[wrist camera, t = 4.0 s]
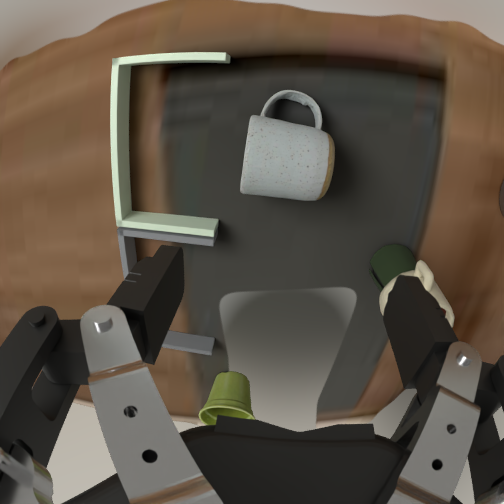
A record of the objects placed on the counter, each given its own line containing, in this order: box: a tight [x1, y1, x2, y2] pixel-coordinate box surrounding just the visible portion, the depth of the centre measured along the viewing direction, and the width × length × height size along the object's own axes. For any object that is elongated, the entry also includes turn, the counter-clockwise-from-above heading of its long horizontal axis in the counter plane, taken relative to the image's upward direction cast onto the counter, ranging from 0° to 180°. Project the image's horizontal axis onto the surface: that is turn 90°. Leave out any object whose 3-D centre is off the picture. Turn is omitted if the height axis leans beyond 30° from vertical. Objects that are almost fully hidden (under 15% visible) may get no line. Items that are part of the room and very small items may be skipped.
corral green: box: [110, 52, 231, 237], centre depth 30 cm, size 12×20×3 cm, turn 175°
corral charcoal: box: [117, 227, 218, 355], centre depth 40 cm, size 12×20×3 cm, turn 175°
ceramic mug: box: [240, 90, 335, 201], centre depth 27 cm, size 11×8×8 cm
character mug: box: [369, 244, 455, 327], centre depth 31 cm, size 11×7×13 cm, turn 5°
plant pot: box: [199, 371, 256, 425], centre depth 48 cm, size 9×9×9 cm
